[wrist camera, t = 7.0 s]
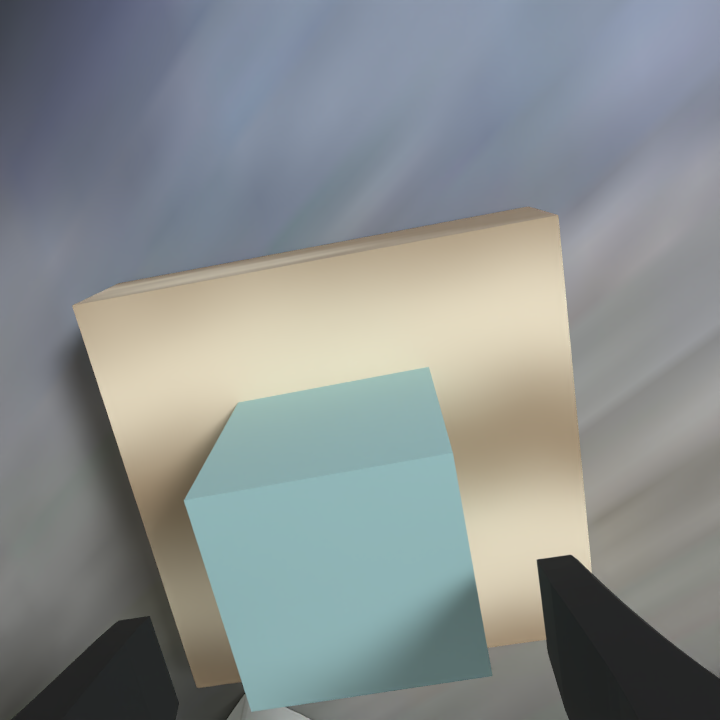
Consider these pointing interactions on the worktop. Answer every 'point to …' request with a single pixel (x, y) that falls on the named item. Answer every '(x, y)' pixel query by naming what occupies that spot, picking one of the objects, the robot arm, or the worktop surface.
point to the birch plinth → (350, 363)
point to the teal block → (340, 543)
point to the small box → (263, 713)
